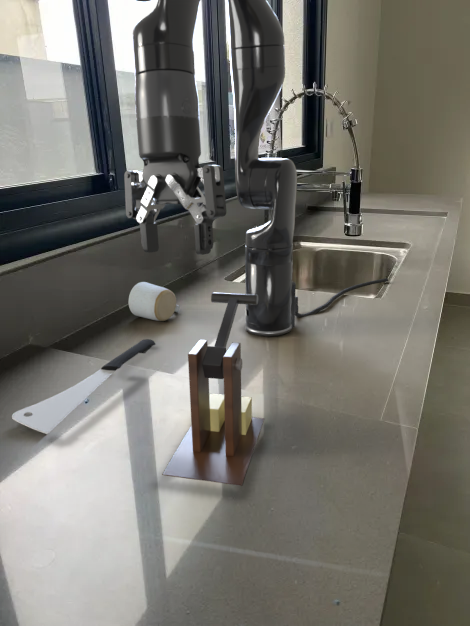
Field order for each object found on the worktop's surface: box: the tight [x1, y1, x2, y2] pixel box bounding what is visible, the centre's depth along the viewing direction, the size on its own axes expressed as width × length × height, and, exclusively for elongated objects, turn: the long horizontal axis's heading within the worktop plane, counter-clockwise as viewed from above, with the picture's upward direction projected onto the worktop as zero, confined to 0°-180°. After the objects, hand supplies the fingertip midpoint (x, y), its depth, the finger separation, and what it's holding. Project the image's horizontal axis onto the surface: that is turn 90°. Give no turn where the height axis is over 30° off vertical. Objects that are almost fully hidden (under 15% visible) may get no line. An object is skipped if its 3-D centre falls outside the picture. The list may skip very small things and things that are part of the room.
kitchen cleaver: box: [11, 338, 156, 435], centre depth 78 cm, size 31×2×10 cm
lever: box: [202, 291, 258, 380], centre depth 60 cm, size 13×6×2 cm, turn 167°
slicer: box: [161, 339, 265, 486], centre depth 58 cm, size 14×9×14 cm, turn 167°
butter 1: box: [209, 392, 225, 432], centre depth 64 cm, size 4×2×3 cm, turn 167°
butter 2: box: [241, 395, 253, 435], centre depth 63 cm, size 4×2×3 cm, turn 167°
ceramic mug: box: [128, 281, 181, 322], centre depth 109 cm, size 11×8×8 cm
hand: (176, 252), depth 63 cm, fingers open, 8 cm apart
